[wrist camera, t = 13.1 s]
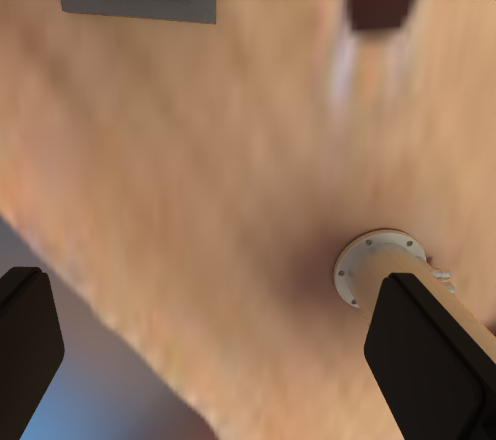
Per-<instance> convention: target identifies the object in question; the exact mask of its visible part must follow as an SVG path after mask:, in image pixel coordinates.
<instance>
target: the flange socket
mask: <svg viewBox="0 0 496 440" xmlns="http://www.w3.org/2000/svg"><path fill="white" fill-rule="evenodd" d="M61 5H62V11H64V12H68V13H81V14H93V15H106V16H119V17H131V18H144V19H157V20H169V21H182V22H195V23H207V24H216V0H61Z"/></svg>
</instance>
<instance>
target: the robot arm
mask: <svg viewBox="0 0 496 440" xmlns="http://www.w3.org/2000/svg"><path fill="white" fill-rule="evenodd" d="M450 276H451V273H450V271H449V269H433V268H432V267H431V266H430V265H429V264H428V263H427V262H426V256H425V253H424V250H423V248H422V247H421V245H420V244H419V243H418V242H417V241H416V240H415V239H414V238H412V237H411V236H410V235H408V234H406V233H404V232H402V231H397V230H386V229H384V230H378V231H373V232H370V233H367V234H365V235H363V236H361V237H359V238H357V239H356V240H354V241H353V242H351V243H350V244H349V245H348V246H347V247H346V248H345V249H344V250H343V252H342V253H341V254H340V256H339V257H338V260H337V262H336V264H335V268H334V272H333V280H334V285H335V287H336V289H337V292H338V293H339V295H340V296H341V298H342V299H343V300H344V301H345V302H346V303H348V304H349V305H351V306H353V307H356V308H359V309H361V311H362V313H363V315H364V317H365V318H366V320H367V322H368V324H369V325H370V327H369V330H368V334H367V337H366V341H365V345H364V355H365V358H366V361H367V363H368V365H369V367H370V369H371V371H372V373H373V375H374V377H375V379H376V381H377V383H378V385H379V387H380V390H381V392H382V394H383V396H384V398H385V400H386V402H387V404H388V406H389V408H390V410H391V412H392V414H393V416H394V418H395V421H396V423H397V425H398V427H399V429H400V431H401V433H402V435H403V437H404V439H405V440H496V337H495V336H494V335H493V334H492V333H491V332H490V331H489V330H488V329H487V328H486V327H485V326H484V325H483V324H482V323H481V322H480V321H479V320H478V319H477V318H476V317H475V316H474V315H473V314H472V313H471V312H470V311H469V310H468V309H467V308H466V307H465V306H464V305H463V304H462V303H461V302H460V301H459V300H458V299H457V298H456V297H455V296H454V293H455V289H454V286H453V285H452V284H451V283H446V282H440V281H439V280H438V279H449V278H450ZM64 351H65V350H64V343H63V339H62V334H61V330H60V325H59V321H58V316H57V312H56V308H55V303H54V299H53V294H52V290H51V285H50V281H49V277H48V275H47V273H42V271H41V269H40V268H38V267H13V268H11V269H10V270H9V271H8V272H7V273H6V274H4V275H3V276H2V277H1V278H0V440H19V439H20V438H21V435H22V434H23V432H24V430H25V428H26V426H27V425H28V423H29V421H30V419H31V417H32V415H33V414H34V412H35V410H36V408H37V406H38V404H39V403H40V401H41V399H42V397H43V395H44V394H45V392H46V390H47V388H48V386H49V384H50V383H51V381H52V379H53V377H54V375H55V373H56V371H57V370H58V368H59V366H60V364H61V362H62V360H63V357H64Z"/></svg>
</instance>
